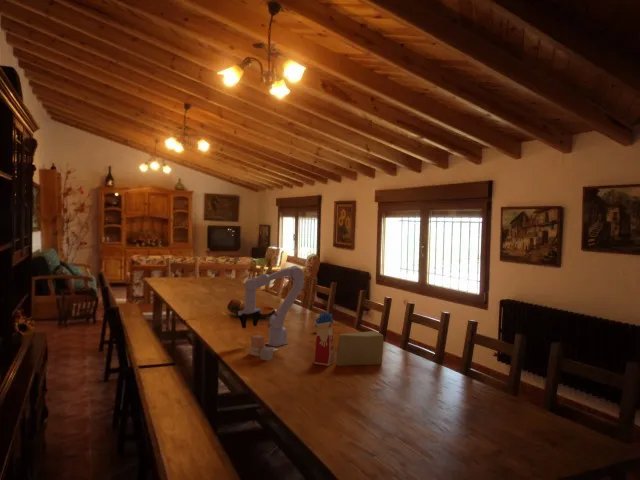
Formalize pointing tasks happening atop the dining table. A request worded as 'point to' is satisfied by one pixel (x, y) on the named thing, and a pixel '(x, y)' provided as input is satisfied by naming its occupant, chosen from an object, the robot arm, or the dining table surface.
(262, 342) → the terracotta block
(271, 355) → the grey painted block
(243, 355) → the dining table surface
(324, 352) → the milk carton
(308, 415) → the dining table surface
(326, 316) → the grapes
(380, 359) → the cheese
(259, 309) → the robot arm
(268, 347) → the tile
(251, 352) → the birch base block
